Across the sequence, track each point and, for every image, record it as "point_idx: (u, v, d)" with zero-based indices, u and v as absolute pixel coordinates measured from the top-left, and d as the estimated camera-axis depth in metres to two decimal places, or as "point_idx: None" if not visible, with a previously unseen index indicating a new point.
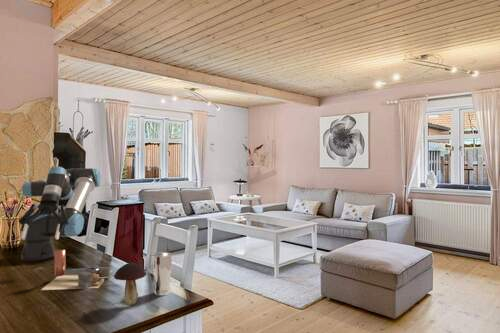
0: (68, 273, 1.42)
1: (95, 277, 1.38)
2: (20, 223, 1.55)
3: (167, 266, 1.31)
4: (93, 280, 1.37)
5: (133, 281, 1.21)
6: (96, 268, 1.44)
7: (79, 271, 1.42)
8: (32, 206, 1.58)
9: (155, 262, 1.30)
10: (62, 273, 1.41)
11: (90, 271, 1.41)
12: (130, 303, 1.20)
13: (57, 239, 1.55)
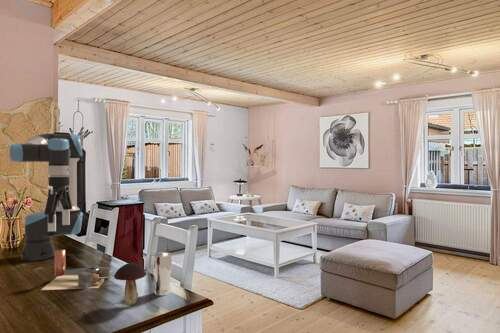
0: (68, 273, 1.42)
1: (95, 277, 1.38)
2: (48, 213, 1.32)
3: (167, 266, 1.31)
4: (93, 280, 1.37)
5: (133, 281, 1.21)
6: (96, 268, 1.44)
7: (79, 271, 1.42)
8: (55, 192, 1.35)
9: (155, 262, 1.30)
10: (62, 273, 1.41)
11: (90, 271, 1.41)
12: (130, 303, 1.20)
13: (63, 224, 1.48)
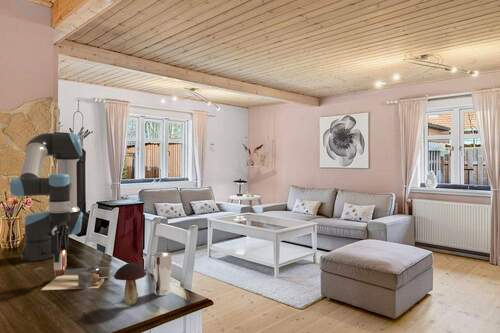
0: (68, 273, 1.42)
1: (95, 277, 1.38)
2: (54, 254, 1.37)
3: (167, 266, 1.31)
4: (93, 280, 1.37)
5: (133, 281, 1.21)
6: (96, 268, 1.44)
7: (79, 271, 1.42)
8: (57, 232, 1.36)
9: (155, 262, 1.30)
10: (62, 273, 1.41)
11: (90, 271, 1.41)
12: (130, 303, 1.20)
13: None
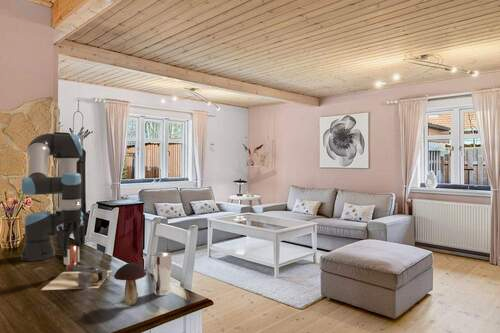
0: (75, 269, 1.47)
1: (95, 277, 1.38)
2: (60, 248, 1.44)
3: (167, 266, 1.31)
4: (93, 280, 1.37)
5: (133, 281, 1.21)
6: (95, 269, 1.43)
7: (82, 269, 1.45)
8: (61, 229, 1.43)
9: (155, 262, 1.30)
10: (71, 268, 1.47)
11: (87, 271, 1.42)
12: (130, 303, 1.20)
13: None
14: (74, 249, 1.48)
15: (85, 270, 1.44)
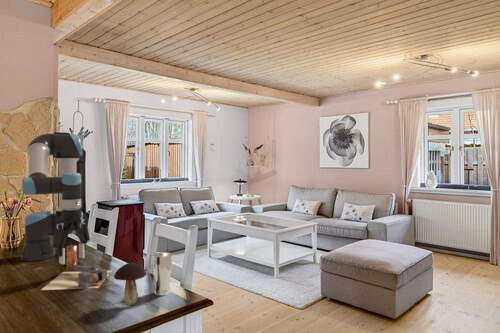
0: (75, 269, 1.47)
1: (95, 277, 1.38)
2: None
3: (167, 266, 1.31)
4: (93, 280, 1.37)
5: (133, 281, 1.21)
6: (95, 269, 1.43)
7: (82, 269, 1.45)
8: (60, 227, 1.43)
9: (155, 262, 1.30)
10: (71, 268, 1.48)
11: (87, 271, 1.42)
12: (130, 303, 1.20)
13: (80, 257, 1.54)
14: (74, 249, 1.48)
15: (85, 270, 1.44)
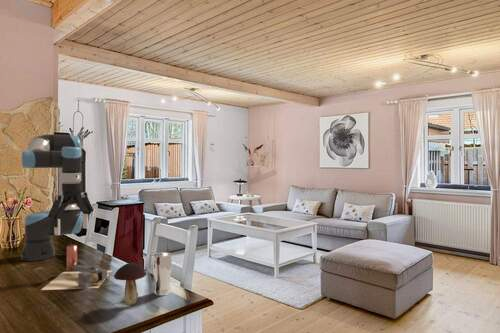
0: (75, 269, 1.47)
1: (95, 277, 1.38)
2: (50, 218, 1.41)
3: (167, 266, 1.31)
4: (93, 280, 1.37)
5: (133, 281, 1.21)
6: (95, 269, 1.43)
7: (82, 269, 1.45)
8: (60, 198, 1.43)
9: (155, 262, 1.30)
10: (71, 268, 1.48)
11: (87, 271, 1.42)
12: (130, 303, 1.20)
13: (84, 227, 1.56)
14: (74, 249, 1.48)
15: (85, 270, 1.44)
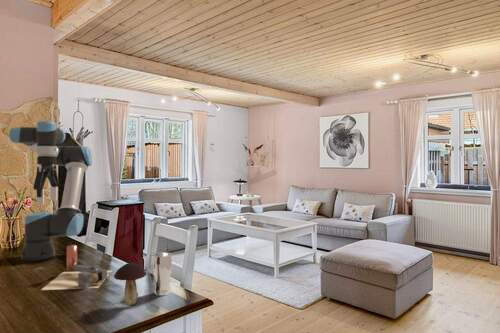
0: (75, 269, 1.47)
1: (95, 277, 1.38)
2: (37, 188, 1.47)
3: (167, 266, 1.31)
4: (93, 280, 1.37)
5: (133, 281, 1.21)
6: (95, 269, 1.43)
7: (82, 269, 1.45)
8: (43, 169, 1.50)
9: (155, 262, 1.30)
10: (71, 268, 1.48)
11: (87, 271, 1.42)
12: (130, 303, 1.20)
13: (51, 200, 1.63)
14: (74, 249, 1.48)
15: (85, 270, 1.44)
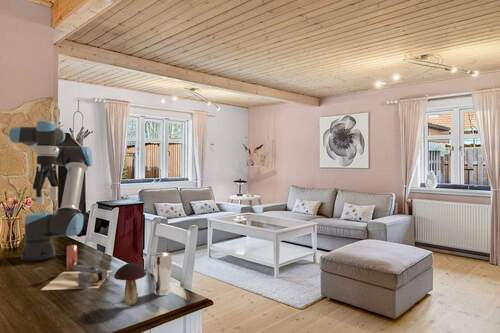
0: (75, 269, 1.47)
1: (95, 277, 1.38)
2: (36, 188, 1.47)
3: (167, 266, 1.31)
4: (93, 280, 1.37)
5: (133, 281, 1.21)
6: (95, 269, 1.43)
7: (82, 269, 1.45)
8: (43, 169, 1.50)
9: (155, 262, 1.30)
10: (71, 268, 1.48)
11: (87, 271, 1.42)
12: (130, 303, 1.20)
13: None
14: (74, 249, 1.48)
15: (85, 270, 1.44)
